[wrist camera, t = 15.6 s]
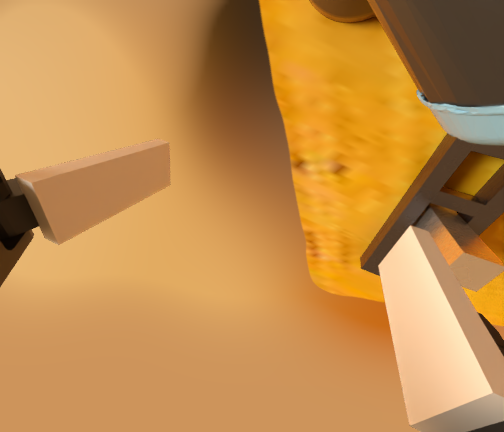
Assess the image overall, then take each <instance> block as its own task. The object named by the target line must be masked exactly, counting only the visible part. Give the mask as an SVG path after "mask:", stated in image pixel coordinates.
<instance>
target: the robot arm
mask: <svg viewBox="0 0 504 432" xmlns="http://www.w3.org/2000/svg"><path fill="white" fill-rule="evenodd" d="M309 1H310V2H311V4H312V5H313V6H314V7H315V9H316V10H317V11H319V12H320V13H321V14H322V15H324V16H325V17H327V18H329V19H331V20H334V21H338V22H346V23H350V22H359V21H363V20H366V19H369V18H372V17H374V16H376V17H377V18H378V20H379V22H380V24H381V25H382V27H383V29H384V31H385V32H386V34H387V36H388V38H389V39H390V41H391V43H392V45H393V46H394V48H395V50H396V52H397V53H398V55H399V57H400V59H401V60H402V62H403V64H404V66H405V67H406V69H407V71H408V73H409V74H410V76H411V78H412V80H413V81H414V83H415V85H416V87H417V88H418V90H417V95H418V98H419V99H420V101H421V102H422V103H423V104H424V105H426V106H427V107H429V108H430V110H431V111H432V113H433V114H434V116H435V117H436V119H437V120H438V122H439V123H440V125H441V126H442V128H443V129H444V130H445V131H446V132H447V133H448V134H449V135H451V136H454V137H457V138H459V139H460V140H464V141H466V142H469V143H473V144H480V145H495V146H504V0H309ZM15 177H16V178H15V179H10V180H6V179H5V177H4V175H3V173H2V171H1V169H0V287H1V285H2V283H3V282H4V281H5V279H6V278H7V276H8V275H9V273H10V272H11V270H12V269H13V267H14V266H15V264H16V263H17V261H18V260H19V258H20V257H21V255H22V253H23V252H24V250H25V249H26V248H27V246H28V245H29V243H30V242H31V240H32V239H33V236H34V233H33V232H32V230H31V229H33V228H36V227H38V226H39V227H40V228H41V231H42V233H43V235H44V237H45V238H46V239H48V240H50V241H52V242H54V243H56V244H58V245H60V244H62V243H63V242H65V241H67V240H69V239H71V238H73V237H74V236H76V235H78V234H80V233H82V232H84V231H85V230H88V229H89V228H91V227H93V226H95V225H97V224H99V223H100V222H102V221H104V220H106V219H108V218H110V217H112V216H114V215H116V214H117V213H119V212H121V211H123V210H125V209H127V208H128V207H130V206H132V205H134V204H136V203H138V202H140V201H142V200H143V199H145V198H147V197H149V196H151V195H153V194H155V193H156V192H158V191H160V190H162V189H164V188H166V187H167V186H169V185H170V155H169V143H168V142H166V141H163V140H160V139H156V140H152V141H148V142H144V143H140V144H136V145H132V146H128V147H124V148H120V149H116V150H112V151H108V152H105V153H101V154H97V155H93V156H89V157H85V158H81V159H77V160H73V161H69V162H65V163H61V164H58V165H54V166H49V167H46V168H42V169H38V170H34V171H30V172H26V173H22V174H18V175H15ZM378 267H379V272H380V277H381V282H382V287H383V292H384V297H385V303H386V308H387V313H388V318H389V323H390V328H391V333H392V338H393V343H394V349H395V354H396V359H397V363H398V368H399V374H400V379H401V384H402V390H403V394H404V400H405V405H406V410H407V415H408V420H409V425H410V426H411V427H413V428H415V429H417V430H419V431H421V432H504V340H503V339H502V337H501V336H500V334H499V332H498V331H497V330H496V329H495V328H494V327H493V326H492V325H491V324H490V322H489V321H488V320H487V319H486V318H485V317H484V316H483V315H482V314H480V313H478V312H477V311H476V310H475V308H474V306H473V305H472V303H471V301H470V300H469V298H468V296H467V295H466V293H465V291H464V290H463V288H462V286H461V285H460V283H459V281H458V280H457V278H456V276H455V275H454V273H453V271H452V270H451V268H450V267H449V265H448V263H447V262H446V260H445V258H444V257H443V255H442V253H441V252H440V250H439V248H438V247H437V245H436V243H435V242H434V240H433V238H432V237H431V235H430V233H429V232H428V231H426V230H423V229H420V228H417V227H414V226H411V225H410V226H409V228H408V229H407V230H406V231H405V233H404V234H403V235H402V236H401V238H400V239H399V240H398V241H397V243H396V244H395V245H394V247H393V248H392V249H391V250H390V252H389V253H388V254H387V255H386V257H385V258H384V259H383V260H382V262H381V263H380V264H379V266H378Z"/></svg>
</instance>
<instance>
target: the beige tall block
mask: <svg viewBox="0 0 504 432" xmlns="http://www.w3.org/2000/svg"><path fill="white" fill-rule="evenodd" d="M412 226H414V227H417V228H420V229H423V230H426V231H428V232H429V233H430V235H431V237H432V238H433V240H434V242H435V243H436V245H437V247H438V248H439V250H440V252H441V253H442V255H443V257H444V258H445V260H446V262H447V263H448V265H449V267H450V268H451V270H452V271H453V273H454V275H455V276H456V278H457V280H458V281H459V283H460V285H461V286H462V287H465V288H468V289H470V290H473V291H476V292H477V291H478V290H479V289H480V288H482V287H483V286H484V285H486V284H487V283H488V282H490V281H491V280H492V279H494V278H495V277H496V276H498V275H499V274H500V273H502V272H503V271H504V263H503V262H502V261H501V260H500V259H499V258H498V257H497V256H496V255H495V254H494V252H493V251H492V250H491V249H490V248H489V247H488V246H487V245H486V244H485V243H484V242H483V241H482V239H481V238H480V237H479V236H478V235H477V234H476V233H475V232H474V231H473V230H472V229H471V228H470V227H469V225H468V224H467V223H466V222H465V221H464V220H463V219H462V218H461V217H460V216H459V215H458V214H457V212H456V211H454V210H451V209H448V208H445V207H441V206H438V205H435V204H432V203H429V204H428V206H427V207H426V208H425V209H424V211H423V212H422V213H421V214H420V216H419V217H418V218H417V219H416V221H415V222H414V223H413V224H412Z"/></svg>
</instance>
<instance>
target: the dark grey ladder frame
mask: <svg viewBox="0 0 504 432" xmlns="http://www.w3.org/2000/svg"><path fill="white" fill-rule="evenodd" d="M471 151H474V152H478V153H482V154H485V155H489V156H493V157H497V158H500V159H504V146H495V145H480V144H473V143H469V142H466V141H464V140H460V139H459V138H457V137H454V136H451V135H449V134H448V133H447V135H446V136H445V137H444V139H443V140H442V142H441V143H440V145H439V146H438V147H437V149H436V150H435V152H434V153H433V155H432V156H431V158H430V159H429V160H428V162H427V163H426V165H425V166H424V168H423V169H422V170H421V172H420V173H419V175H418V176H417V178H416V179H415V180H414V182H413V183H412V185H411V186H410V188H409V189H408V190H407V192H406V193H405V195H404V196H403V198H402V199H401V201H400V202H399V203H398V205H397V206H396V208H395V209H394V211H393V212H392V213H391V215H390V216H389V218H388V219H387V221H386V222H385V223H384V225H383V226H382V228H381V229H380V231H379V232H378V233H377V235H376V236H375V238H374V239H373V241H372V242H371V244H370V245H369V246H368V248H367V249H366V251H365V252H364V254H363V255H362V256H361V258H360V261H361V269H364V270H366V271H369V272H371V273H374V274H376V275H379V276H380V272H379V267H378V266H379V264H380V263H381V262H382V260H383V259H384V258H385V257H386V255H387V254H388V253H389V252H390V250H391V249H392V248H393V247H394V245H395V244H396V243H397V241H398V240H399V239H400V238H401V236H402V235H403V234H404V233H405V231H406V230H407V229H408V228H409V226H410V225H411V226H412V224H413V223H414V222H415V221H416V219H417V218H418V217H419V216H420V214H421V213H422V212H423V211H424V209H425V208H426V207H427V206H428V204H429V203H432V204H435V205H438V206H441V207H445V208H448V209H451V210H454V211H457V212H459V213H458V215H459V216H460V217H461V218H462V219H463V220H464V221H465V222H466V223H467V224H468V225H469V227H470V228H471V229H472V230H473V231H474V232H475V233H476V234H477V235H478V236H479V235H480V234H481V233H482V232H483V231H484V230H485V229H486V228H487V227H488V226H490V225H491V224H492V223H493V222H494V221H495V220H496V219H497V218H498V217H499V216H500V215H501V214H502V213H503V212H504V164H503V165H502V166H501V167H500V168H499V170H498V171H497V172H496V173H495V174H494V175H493V176H492V177H491V178H490V179H489V180H488V182H487V183H486V184H485V185H484V186H483V187H482V188H481V189H480V190H479V191H478V192H477V194H476V195H475V196H472V195H469V194H466V193H462V192H459V191H456V190H452V189H449V188H446V187H443V186H444V184H445V183H446V182H447V180H448V179H449V178H450V177H451V175H452V174H453V173H454V172H455V170H456V169H457V168H458V167H459V165H460V164H461V163H462V162H463V160H464V159H465V158H466V157H467V155H468V154H469V153H470V152H471Z"/></svg>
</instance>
